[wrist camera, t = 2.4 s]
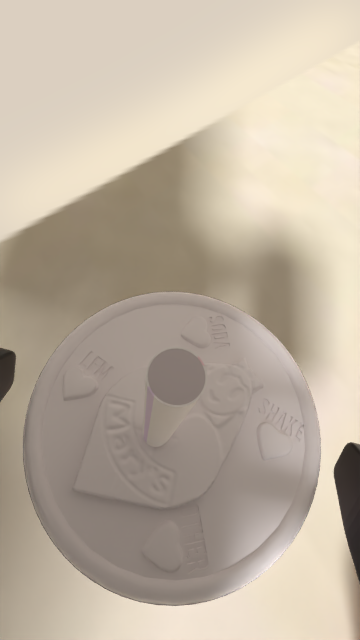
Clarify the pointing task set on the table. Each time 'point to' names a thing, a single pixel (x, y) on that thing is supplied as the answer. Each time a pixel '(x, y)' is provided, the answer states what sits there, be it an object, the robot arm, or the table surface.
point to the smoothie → (171, 448)
